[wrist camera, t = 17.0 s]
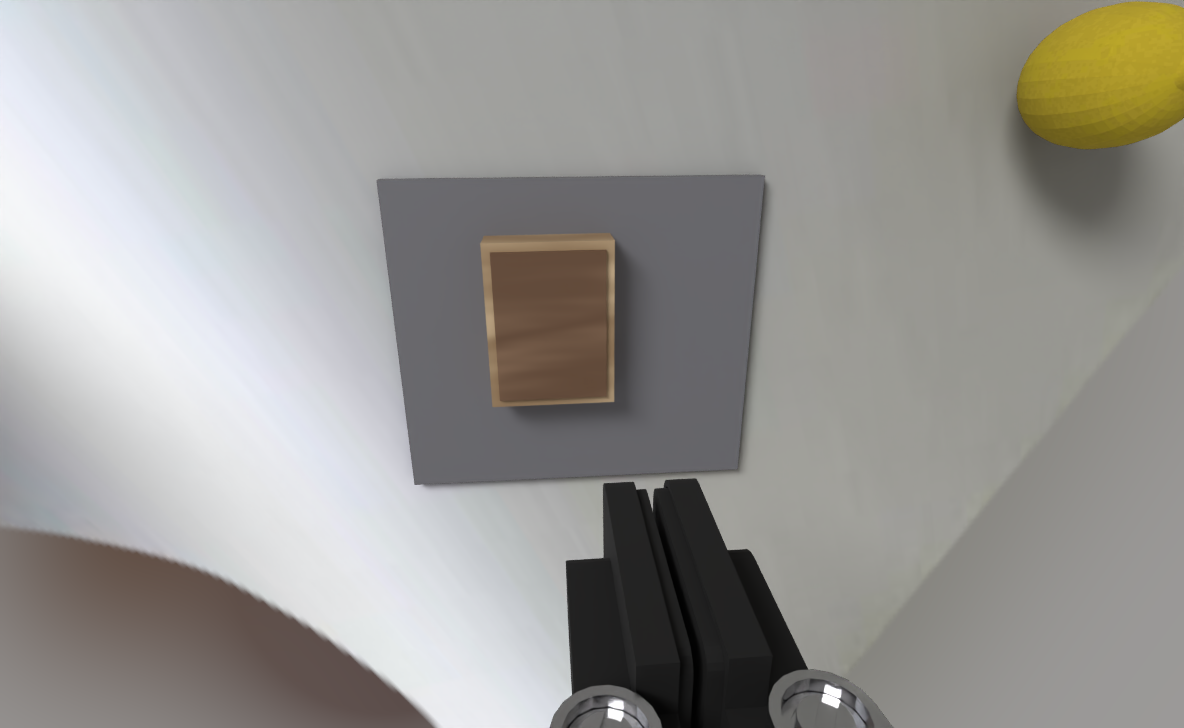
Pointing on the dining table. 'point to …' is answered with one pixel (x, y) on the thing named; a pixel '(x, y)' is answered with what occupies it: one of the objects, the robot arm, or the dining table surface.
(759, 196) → the mat
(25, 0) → the dining table surface
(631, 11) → the dining table surface
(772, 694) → the robot arm
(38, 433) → the dining table surface
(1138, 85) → the lemon
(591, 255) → the wooden box
